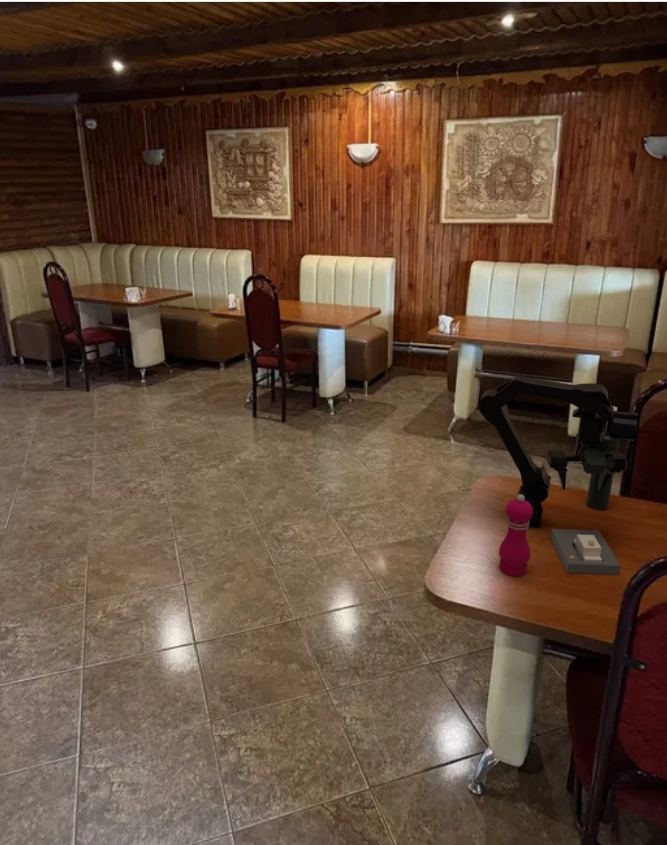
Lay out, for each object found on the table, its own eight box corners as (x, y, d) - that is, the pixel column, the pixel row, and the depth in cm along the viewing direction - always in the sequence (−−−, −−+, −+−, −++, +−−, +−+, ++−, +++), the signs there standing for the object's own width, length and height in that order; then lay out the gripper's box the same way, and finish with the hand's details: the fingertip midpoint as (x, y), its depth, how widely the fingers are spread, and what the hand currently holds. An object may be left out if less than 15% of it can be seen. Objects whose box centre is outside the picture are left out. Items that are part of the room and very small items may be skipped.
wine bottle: (590, 510, 177) (606, 410, 166) (583, 500, 183) (598, 403, 172) (611, 510, 177) (628, 410, 166) (603, 500, 183) (619, 403, 172)
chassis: (567, 572, 150) (568, 563, 149) (550, 537, 165) (551, 528, 164) (618, 574, 149) (620, 565, 148) (597, 538, 164) (598, 529, 163)
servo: (583, 571, 150) (586, 548, 148) (571, 549, 159) (575, 527, 157) (600, 571, 150) (604, 548, 148) (588, 550, 159) (591, 528, 156)
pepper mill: (491, 564, 153) (498, 491, 146) (515, 557, 156) (523, 485, 149) (510, 580, 147) (518, 504, 140) (534, 573, 150) (544, 498, 142)
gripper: (560, 446, 151) (552, 504, 157) (640, 448, 150) (629, 506, 155) (548, 429, 161) (542, 483, 167) (623, 430, 160) (614, 485, 166)
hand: (581, 489), depth 163 cm, fingers open, 9 cm apart
